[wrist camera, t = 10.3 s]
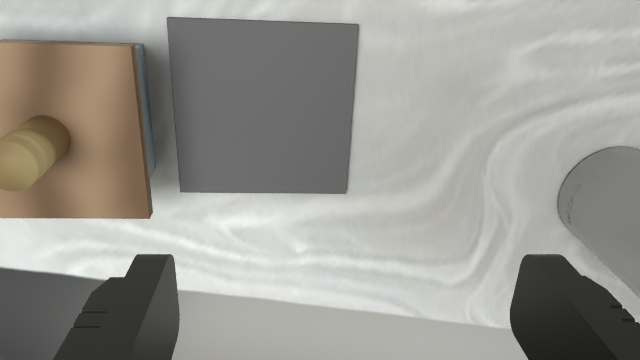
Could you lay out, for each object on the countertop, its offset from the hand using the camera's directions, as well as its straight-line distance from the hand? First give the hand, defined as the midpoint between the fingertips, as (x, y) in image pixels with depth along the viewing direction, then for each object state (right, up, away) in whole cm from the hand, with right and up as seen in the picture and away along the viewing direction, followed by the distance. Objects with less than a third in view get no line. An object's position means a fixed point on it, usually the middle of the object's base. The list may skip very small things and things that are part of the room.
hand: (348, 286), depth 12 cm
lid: (-19, +6, +22) cm, 29 cm away
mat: (-5, +8, +29) cm, 30 cm away
